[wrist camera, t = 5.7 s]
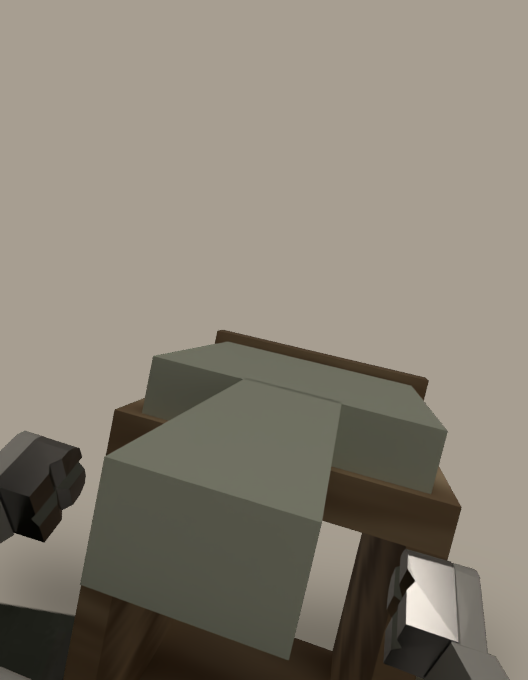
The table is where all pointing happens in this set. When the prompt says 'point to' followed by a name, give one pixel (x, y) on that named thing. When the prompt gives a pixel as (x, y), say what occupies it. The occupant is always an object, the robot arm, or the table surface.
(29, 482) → the robot arm
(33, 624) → the table surface
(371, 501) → the rack
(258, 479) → the grey paddle board
